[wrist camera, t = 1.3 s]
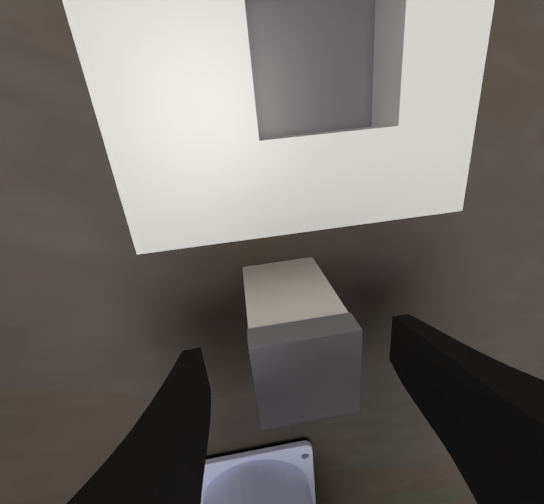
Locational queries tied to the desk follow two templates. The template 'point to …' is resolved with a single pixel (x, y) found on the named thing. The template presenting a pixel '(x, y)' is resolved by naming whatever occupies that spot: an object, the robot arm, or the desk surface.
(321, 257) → the desk surface
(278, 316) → the plug
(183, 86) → the socket plate
